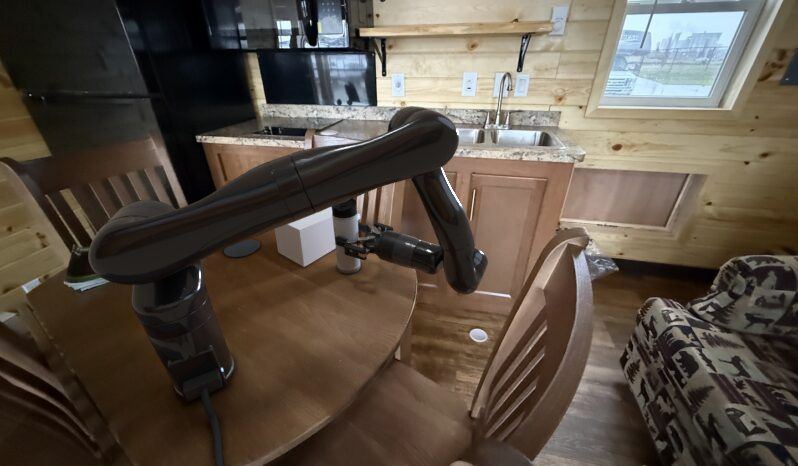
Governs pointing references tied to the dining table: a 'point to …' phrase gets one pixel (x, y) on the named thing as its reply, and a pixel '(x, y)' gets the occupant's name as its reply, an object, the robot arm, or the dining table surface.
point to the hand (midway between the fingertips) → (346, 232)
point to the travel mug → (346, 233)
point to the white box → (307, 237)
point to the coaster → (242, 248)
